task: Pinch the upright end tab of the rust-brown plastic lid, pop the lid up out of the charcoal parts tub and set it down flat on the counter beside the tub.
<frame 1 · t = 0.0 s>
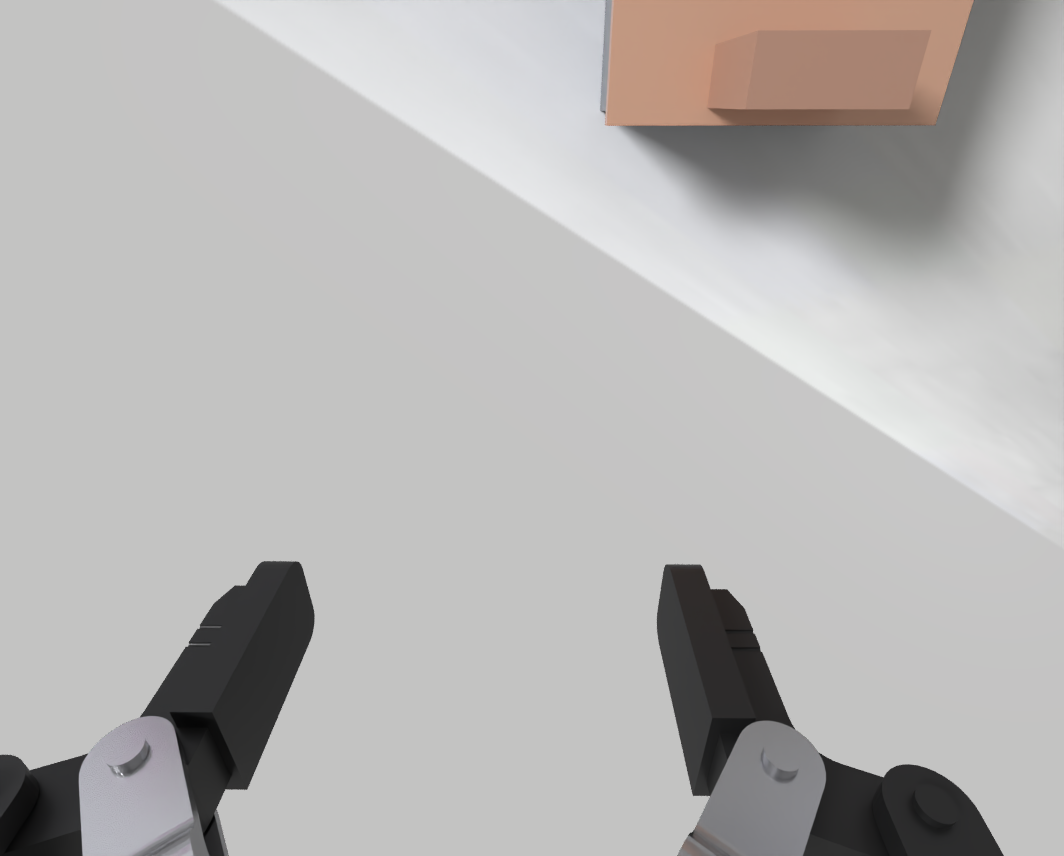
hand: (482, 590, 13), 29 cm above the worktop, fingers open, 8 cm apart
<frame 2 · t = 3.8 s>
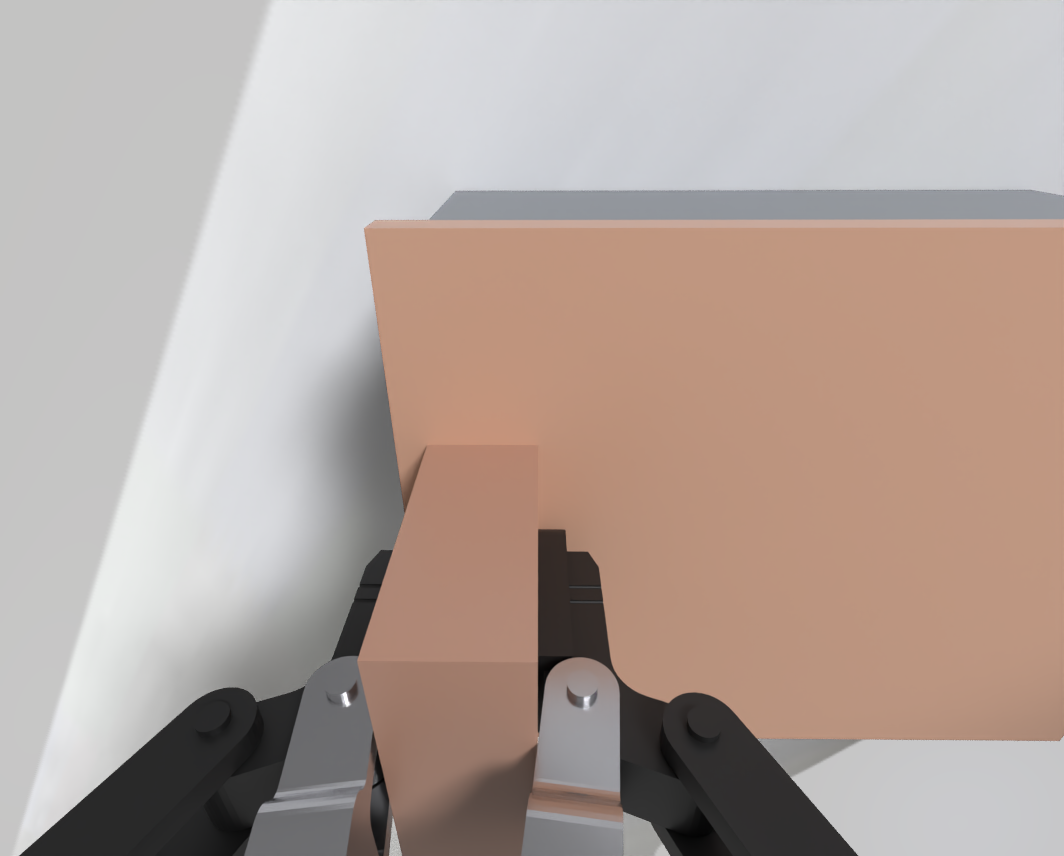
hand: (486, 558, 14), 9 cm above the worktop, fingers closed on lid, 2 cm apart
tub: (708, 391, 21), on the worktop
lid: (769, 495, 16), point 6 cm above the worktop, touching gripper, tub
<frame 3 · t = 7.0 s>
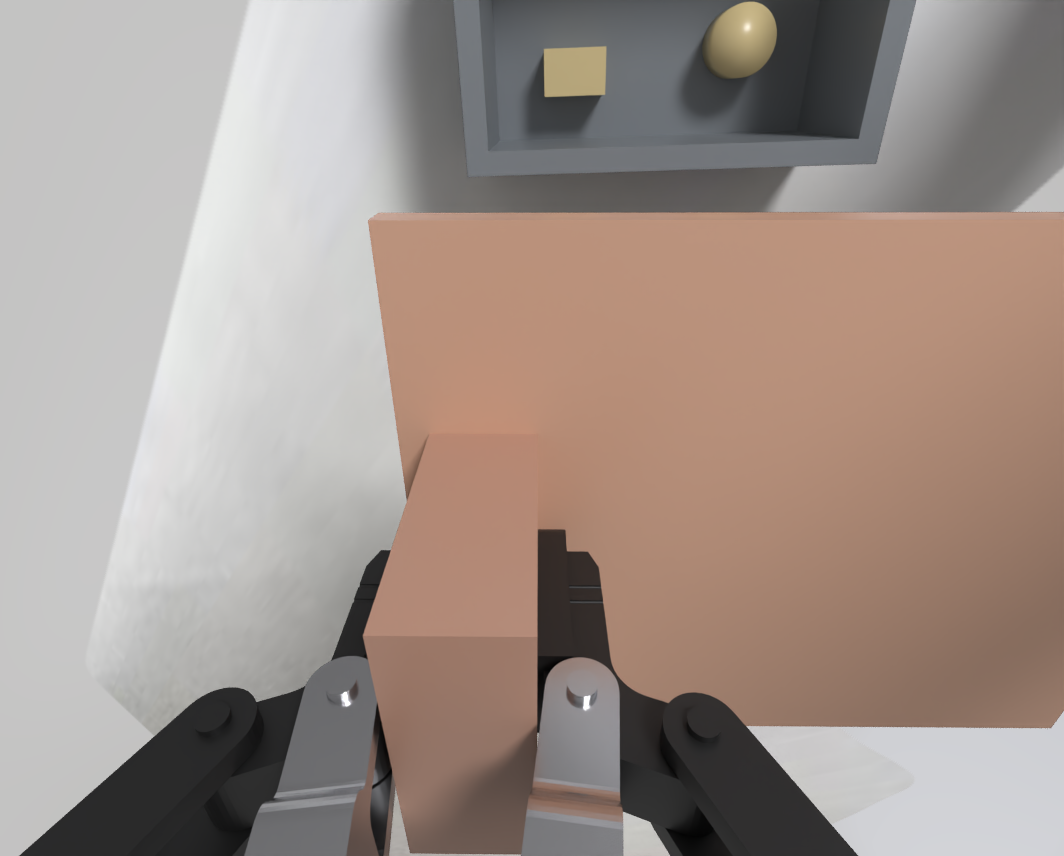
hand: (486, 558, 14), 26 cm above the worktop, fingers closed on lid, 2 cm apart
tub: (652, 1, 29), on the worktop
lid: (765, 485, 16), point 23 cm above the worktop, touching gripper
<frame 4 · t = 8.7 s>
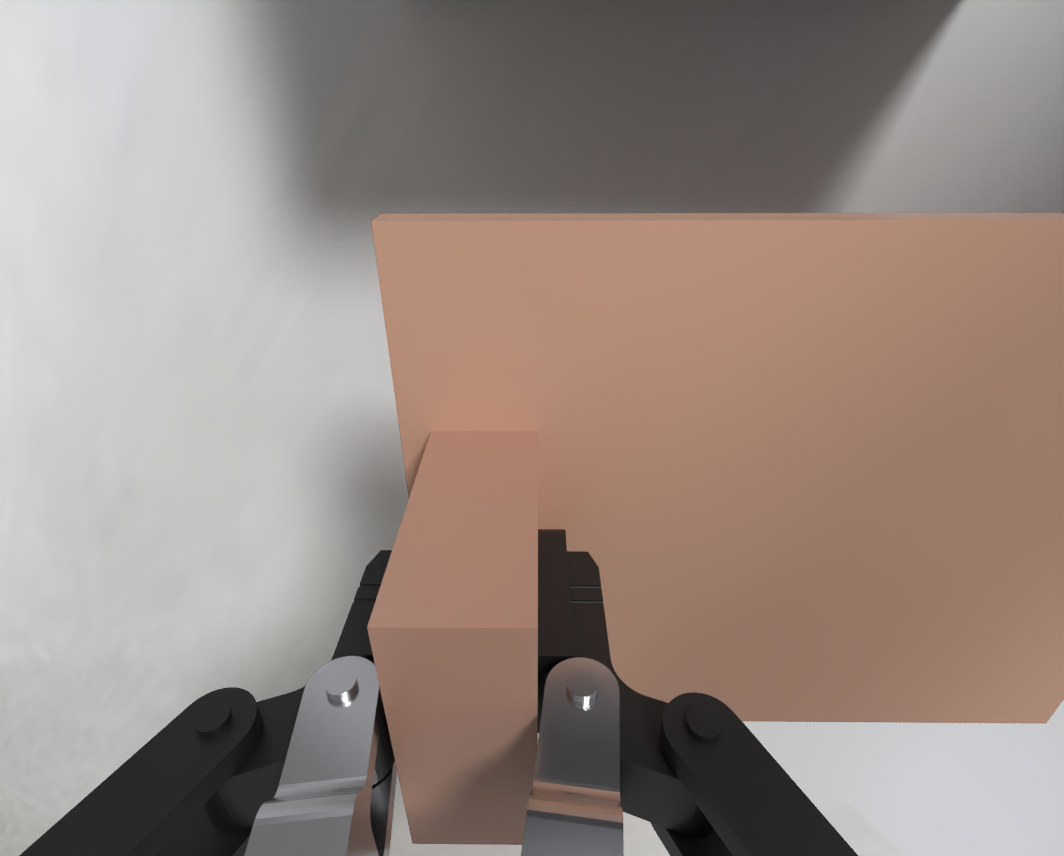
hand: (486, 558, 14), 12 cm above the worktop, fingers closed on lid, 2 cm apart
lid: (763, 482, 16), point 9 cm above the worktop, touching gripper
when the fingers open (5 cm above the worktop, at t = 10.3 s): lid drops 2 cm, on the worktop.
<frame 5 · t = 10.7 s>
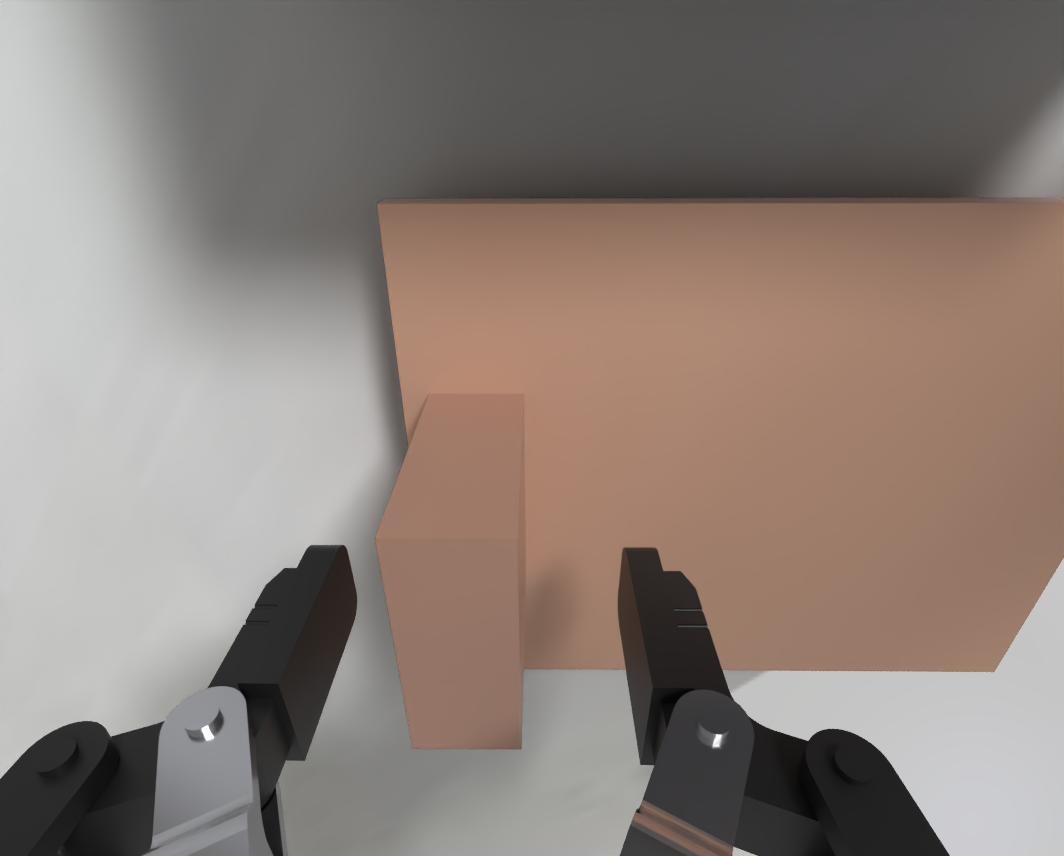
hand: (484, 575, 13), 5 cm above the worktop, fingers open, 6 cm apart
lid: (731, 447, 18), on the worktop
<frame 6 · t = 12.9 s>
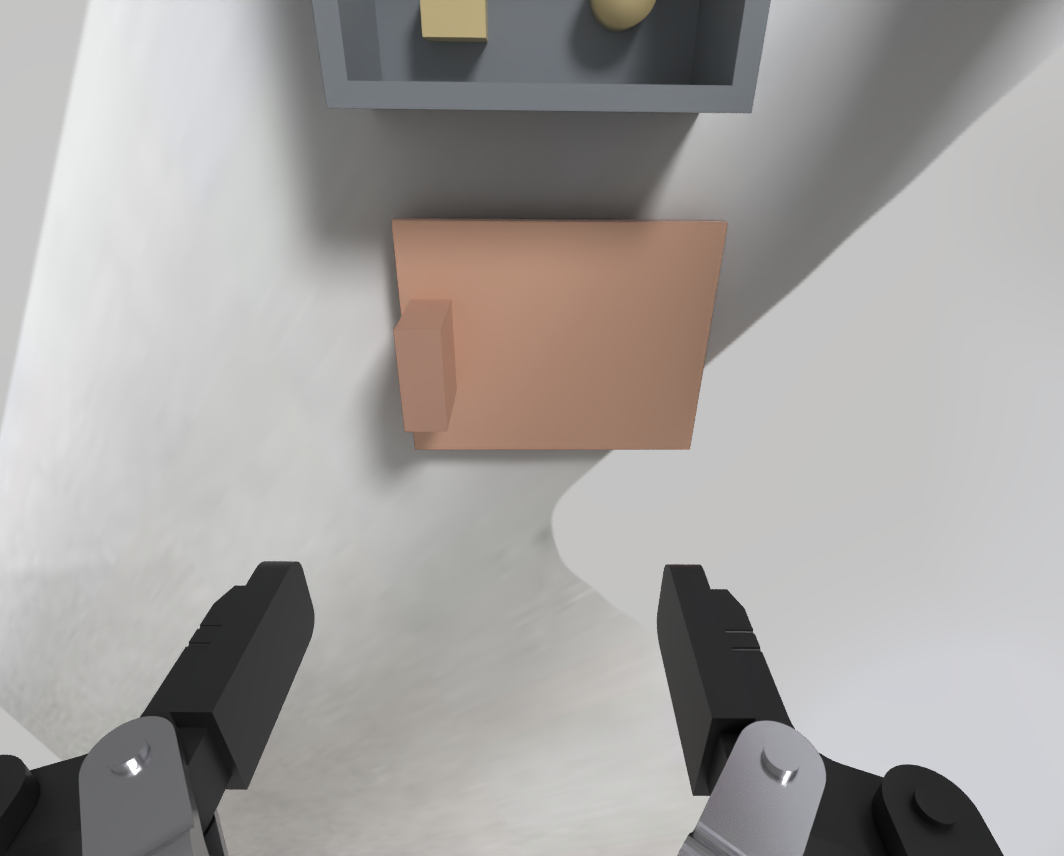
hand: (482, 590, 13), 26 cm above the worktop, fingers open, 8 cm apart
lid: (554, 334, 38), on the worktop
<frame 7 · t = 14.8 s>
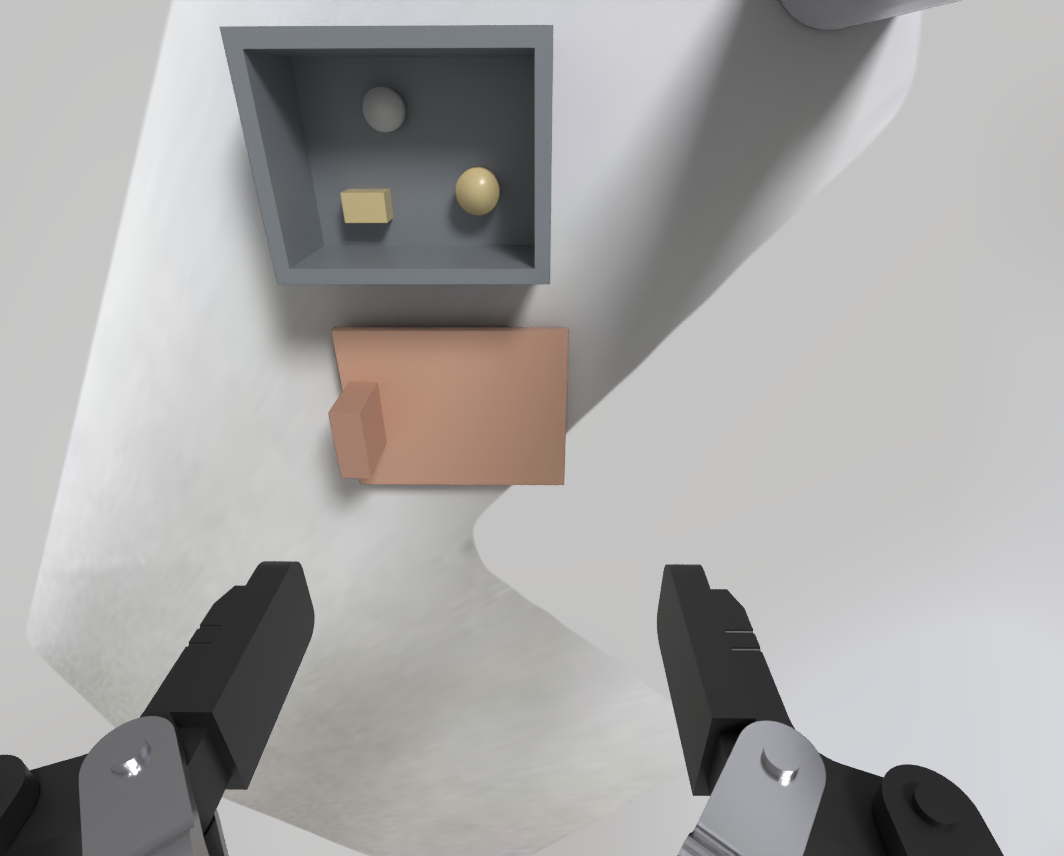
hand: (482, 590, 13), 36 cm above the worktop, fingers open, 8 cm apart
tub: (424, 156, 41), on the worktop
lid: (459, 401, 51), on the worktop
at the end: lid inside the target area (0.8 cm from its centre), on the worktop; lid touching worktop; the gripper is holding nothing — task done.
